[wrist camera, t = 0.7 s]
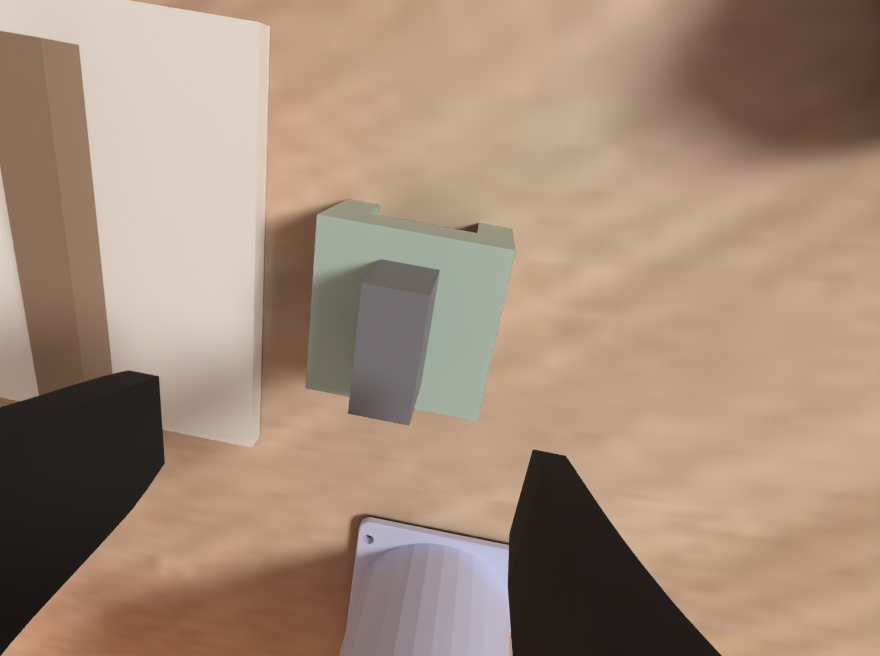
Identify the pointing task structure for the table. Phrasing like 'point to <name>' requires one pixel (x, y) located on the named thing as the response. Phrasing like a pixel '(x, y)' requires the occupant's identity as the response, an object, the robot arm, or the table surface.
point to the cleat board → (134, 205)
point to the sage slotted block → (404, 312)
